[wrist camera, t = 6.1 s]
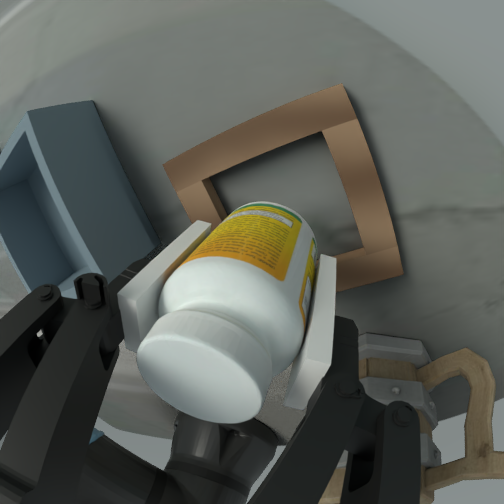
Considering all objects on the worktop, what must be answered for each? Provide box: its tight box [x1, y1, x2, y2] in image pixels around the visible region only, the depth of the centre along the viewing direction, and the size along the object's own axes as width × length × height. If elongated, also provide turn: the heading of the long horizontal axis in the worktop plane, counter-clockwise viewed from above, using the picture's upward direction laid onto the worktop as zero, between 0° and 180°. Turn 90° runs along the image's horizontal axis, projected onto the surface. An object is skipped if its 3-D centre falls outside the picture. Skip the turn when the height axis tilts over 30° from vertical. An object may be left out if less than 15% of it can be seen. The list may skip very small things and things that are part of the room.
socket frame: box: [163, 83, 404, 292], centre depth 19 cm, size 13×13×1 cm
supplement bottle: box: [136, 202, 317, 423], centre depth 12 cm, size 5×5×10 cm
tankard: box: [318, 333, 504, 504], centre depth 17 cm, size 20×13×15 cm, turn 132°
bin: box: [0, 100, 161, 299], centre depth 22 cm, size 14×14×7 cm
